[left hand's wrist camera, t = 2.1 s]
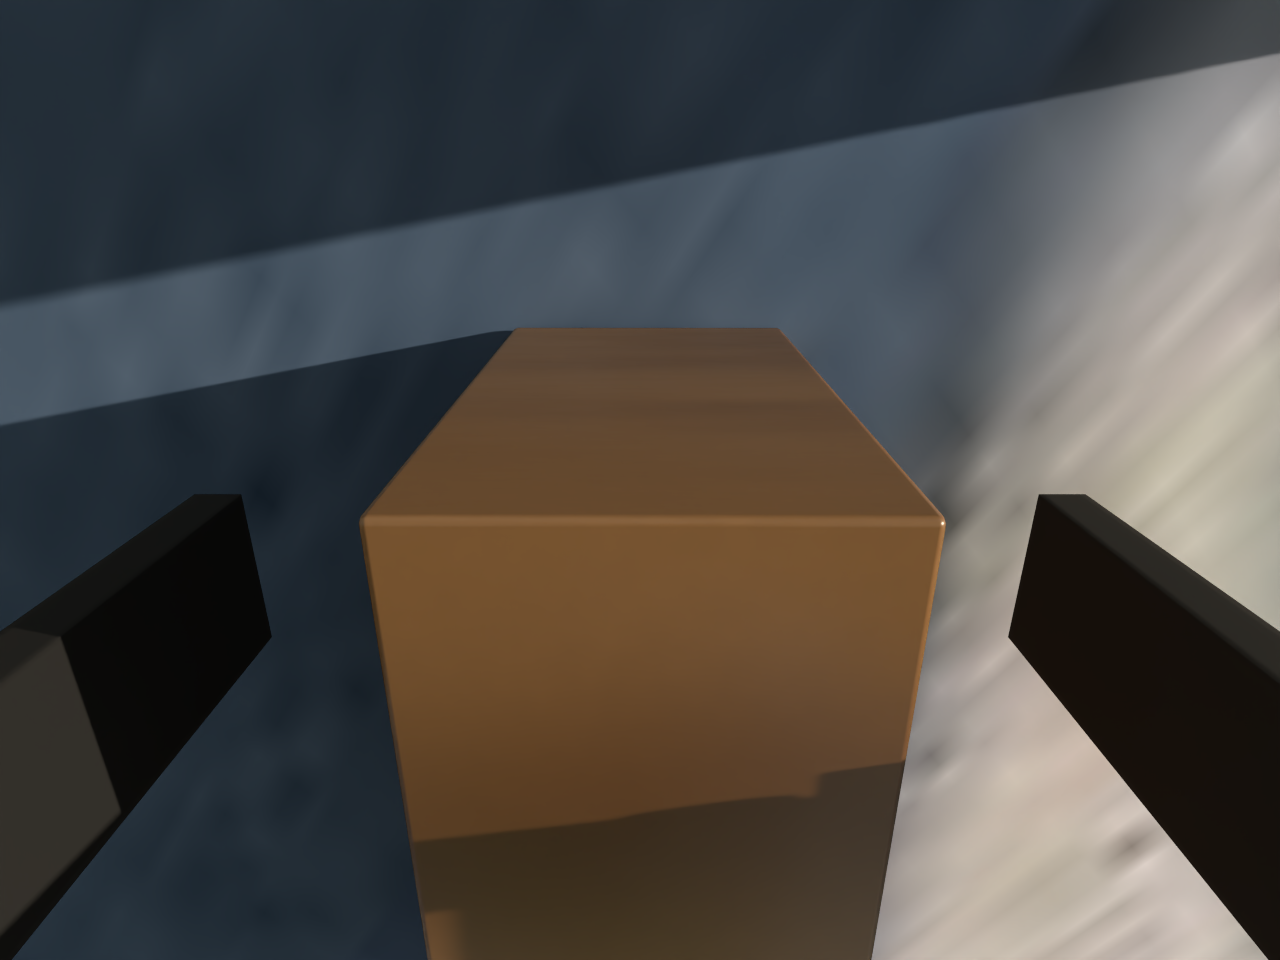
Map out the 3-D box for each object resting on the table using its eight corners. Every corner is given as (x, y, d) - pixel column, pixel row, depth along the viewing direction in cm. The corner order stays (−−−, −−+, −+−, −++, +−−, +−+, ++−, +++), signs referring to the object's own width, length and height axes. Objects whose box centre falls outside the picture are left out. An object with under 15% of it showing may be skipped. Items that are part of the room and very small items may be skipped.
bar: (513, 327, 15) (354, 517, 6) (780, 327, 15) (951, 519, 6) (559, 1037, 23) (512, 1512, 15) (730, 1037, 23) (778, 1513, 15)
